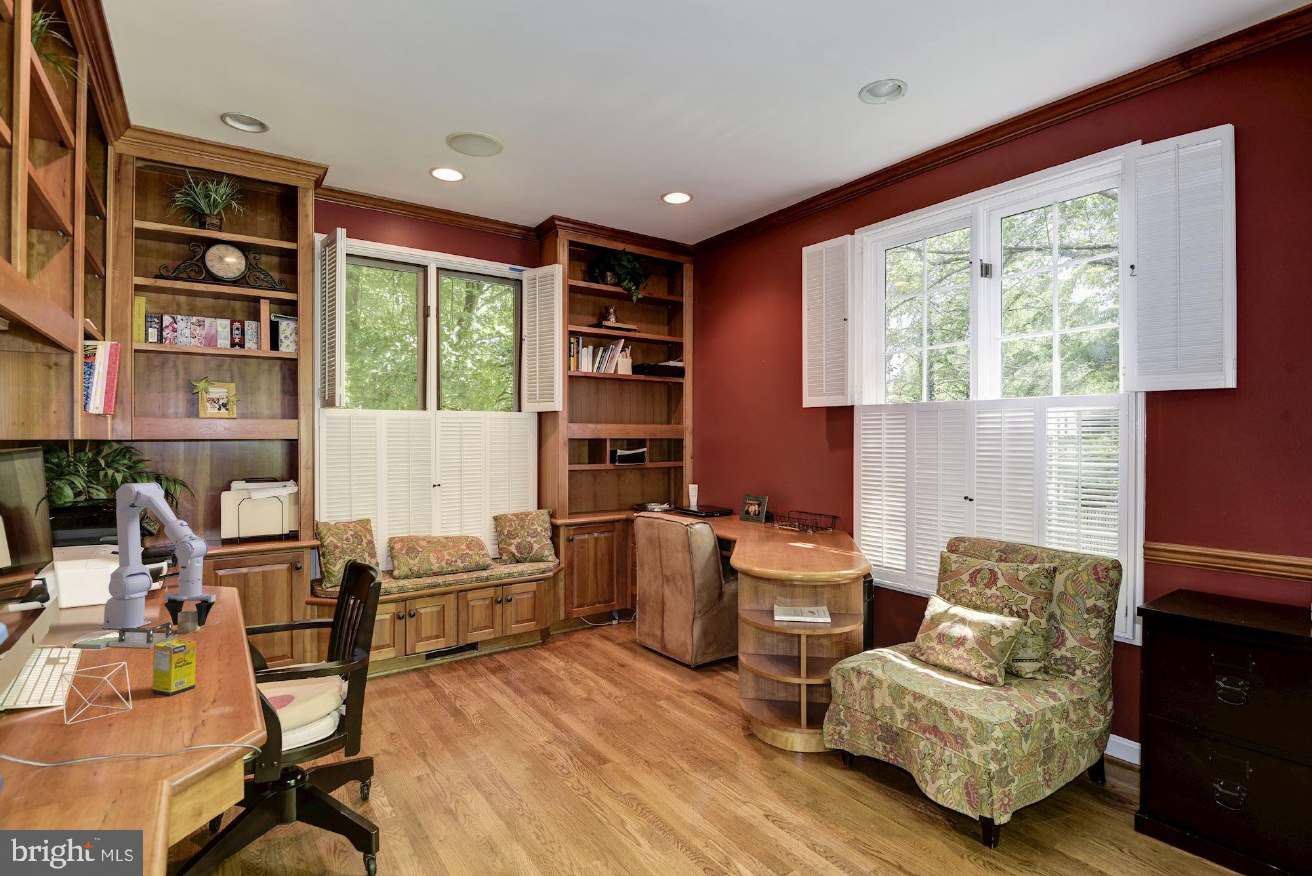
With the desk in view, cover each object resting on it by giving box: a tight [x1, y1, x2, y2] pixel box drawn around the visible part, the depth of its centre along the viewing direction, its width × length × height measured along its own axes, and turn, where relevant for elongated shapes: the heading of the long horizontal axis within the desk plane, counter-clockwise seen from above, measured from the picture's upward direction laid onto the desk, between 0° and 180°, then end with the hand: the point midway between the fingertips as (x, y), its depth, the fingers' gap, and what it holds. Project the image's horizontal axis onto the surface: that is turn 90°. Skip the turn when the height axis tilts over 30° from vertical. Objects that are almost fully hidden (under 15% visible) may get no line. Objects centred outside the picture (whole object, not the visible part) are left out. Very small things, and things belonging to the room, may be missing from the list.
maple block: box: [176, 609, 201, 634], centre depth 202 cm, size 4×4×6 cm
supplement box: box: [151, 638, 198, 697], centre depth 155 cm, size 6×6×11 cm
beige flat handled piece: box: [108, 621, 179, 649], centre depth 190 cm, size 12×10×5 cm
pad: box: [75, 629, 137, 650], centre depth 191 cm, size 7×14×1 cm, turn 178°
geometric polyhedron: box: [60, 661, 133, 725], centre depth 141 cm, size 12×11×9 cm
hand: (189, 625), depth 202 cm, fingers open, 7 cm apart
